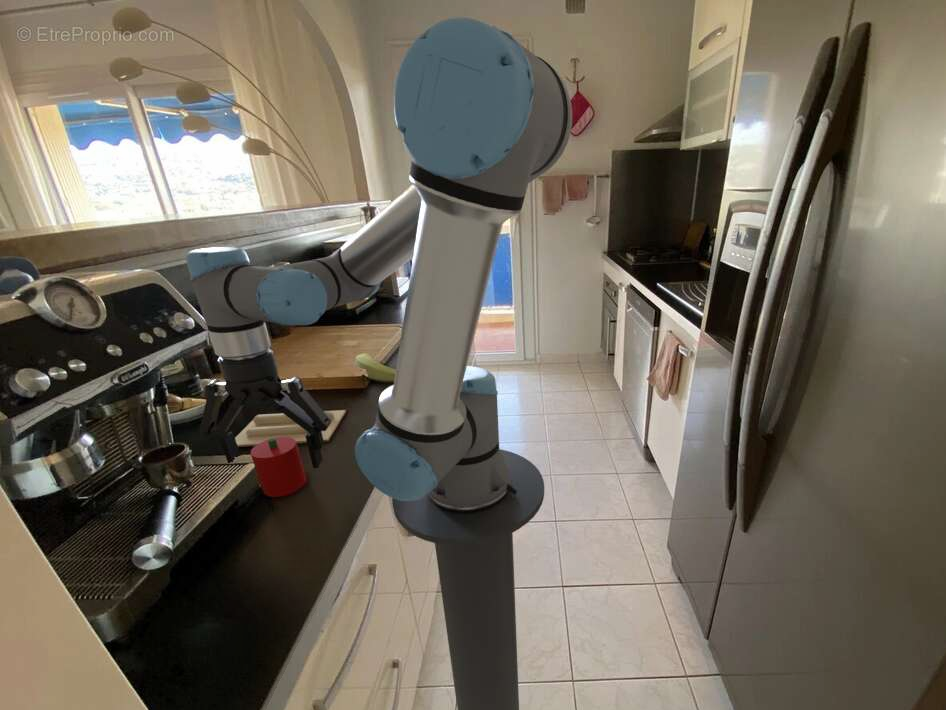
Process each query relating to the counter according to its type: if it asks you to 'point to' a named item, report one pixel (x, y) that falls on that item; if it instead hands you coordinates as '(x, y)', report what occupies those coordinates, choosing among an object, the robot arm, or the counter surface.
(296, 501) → the counter surface
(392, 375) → the banana
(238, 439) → the cream ridged board
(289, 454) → the pepper
